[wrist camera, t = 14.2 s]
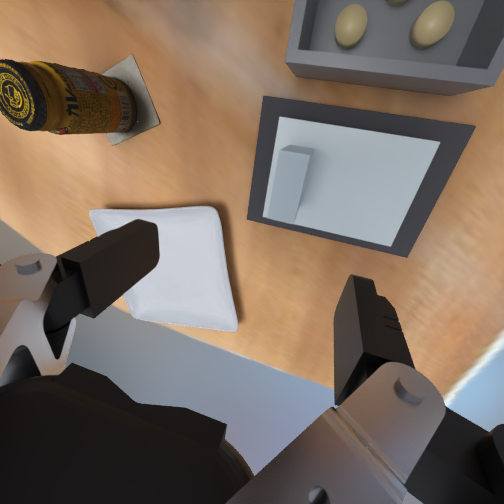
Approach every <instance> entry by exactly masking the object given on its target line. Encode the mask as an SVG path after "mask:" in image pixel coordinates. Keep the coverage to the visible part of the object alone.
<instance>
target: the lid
mask: <svg viewBox="0 0 504 504" xmlns="http://www.w3.org/2000/svg"><path fill="white" fill-rule="evenodd" d="M439 144H440V142H437V141H431V140H425V139H418V138H412V137H406V136H399V135H393V134H387V133H381V132H374V131H368V130H362V129H355V128H349V127H343V126H336V125H330V124H324V123H317V122H311V121H305V120H298V119H292V118H286V117H279V123H278V129H277V135H276V140H275V146H274V152H273V158H272V164H271V170H270V176H269V182H268V188H267V194H266V200H265V206H264V212H263V217H266V218H268V219H272V220H277V221H281V222H285V223H289V224H296V225H300V226H305V227H309V228H313V229H317V230H322V231H326V232H330V233H334V234H339V235H343V236H347V237H351V238H356V239H360V240H364V241H368V242H373V243H377V244H381V245H386V246H390V247H391V245H392V243H393V241H394V239H395V237H396V235H397V233H398V231H399V228H400V226H401V224H402V222H403V220H404V218H405V216H406V214H407V212H408V210H409V207H410V205H411V203H412V201H413V199H414V197H415V195H416V193H417V191H418V189H419V186H420V184H421V182H422V180H423V178H424V176H425V174H426V172H427V170H428V168H429V165H430V163H431V161H432V159H433V157H434V155H435V153H436V151H437V149H438V147H439Z"/></svg>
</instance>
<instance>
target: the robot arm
mask: <svg viewBox="0 0 504 504" xmlns="http://www.w3.org/2000/svg"><path fill="white" fill-rule="evenodd" d="M159 258H160V250H159V234H158V227H157V225H156V224H155V223H153V222H149V221H145V220H141V219H135V220H133V221H131V222H129V223H127V224H125V225H123V226H121V227H119V228H117V229H113V230H110V231H108V232H105V233H103V234H101V235H99V237H95V238H93V239H91V240H90V241H87V242H85V243H83V244H81V245H79V246H77V247H75V248H73V249H71V250H69V251H67V252H65V253H63V254H61V255H58V256H56V257H54V256H53V255H50V254H43V253H37V254H28V255H24V256H19V257H16V258H13V259H11V260H9V261H7V262H5V263H3V264H2V265H1V264H0V504H401V503H402V501H403V499H404V497H405V495H406V492H407V491H408V492H409V493H410V494H412V495H413V496H414V497H416V498H417V499H418V500H420V501H421V502H422V503H423V504H504V424H501V425H498V426H496V427H495V428H494V429H492V430H491V431H490V432H488V431H486V430H484V429H483V428H481V427H479V426H478V425H476V424H474V423H472V422H471V421H469V420H467V419H466V418H464V417H462V416H460V415H459V414H457V413H455V412H454V411H452V410H450V409H449V408H447V407H446V406H445V403H444V400H443V398H442V396H441V394H440V393H439V391H438V390H437V388H436V387H435V386H434V385H433V383H432V382H431V381H430V380H429V379H428V378H426V377H425V376H424V375H423V374H421V373H420V372H418V371H417V370H416V369H415V366H414V364H413V361H412V358H411V355H410V352H409V349H408V346H407V343H406V340H405V337H404V334H403V332H402V328H401V325H400V322H398V320H399V319H398V317H397V314H396V311H395V308H394V307H393V306H392V305H391V303H390V302H389V301H388V300H387V299H386V298H385V297H383V296H379V295H377V292H376V289H375V285H374V281H373V280H372V279H368V278H364V277H360V276H356V275H353V274H351V275H350V276H349V278H348V280H347V282H346V285H345V287H344V290H343V292H342V295H341V297H340V300H339V302H338V304H337V307H336V311H335V315H334V393H335V394H334V395H335V396H334V397H335V405H337V406H339V407H337V408H336V409H335V408H334V407H331V408H329V409H327V410H326V411H325V412H324V413H323V414H322V415H320V416H319V417H318V418H317V419H316V420H315V421H314V422H313V423H312V424H311V425H310V426H309V427H307V428H306V430H304V431H303V432H302V433H301V434H300V435H299V436H298V437H297V438H296V439H294V440H293V441H292V442H291V443H290V444H289V445H288V446H287V447H286V448H285V449H284V450H283V451H281V452H280V453H279V454H278V455H277V456H276V457H275V458H274V459H273V460H272V461H271V462H270V463H268V465H266V466H265V467H264V468H263V469H262V470H261V471H260V472H259V473H258V474H257V475H255V476H254V475H253V473H252V471H251V469H250V467H249V466H248V464H247V463H246V461H245V460H244V459H243V457H242V456H241V455H240V454H239V452H238V451H237V450H236V449H235V448H234V447H233V446H232V445H231V444H230V443H228V442H227V441H226V440H225V434H226V427H227V424H225V423H222V422H220V421H217V420H215V419H212V418H210V417H207V416H205V415H202V414H200V413H197V412H194V411H192V410H190V409H187V408H183V407H172V406H161V405H150V404H140V403H137V402H135V401H134V400H132V399H131V398H130V397H129V396H128V395H127V394H126V393H124V392H123V391H122V390H121V389H120V388H119V387H118V386H117V385H116V384H114V383H113V382H112V381H111V380H110V379H109V378H108V377H107V376H104V375H102V374H99V373H97V372H94V371H91V370H89V369H86V368H84V367H81V366H79V365H77V364H74V363H71V364H70V365H69V366H68V367H67V368H66V369H65V370H64V368H65V364H66V360H67V357H68V353H69V349H70V346H71V342H72V338H73V335H74V331H75V327H76V319H75V317H76V316H77V315H78V314H83V315H86V316H89V317H92V318H95V317H96V316H97V315H99V314H100V313H101V312H102V311H104V310H105V309H106V308H107V307H108V306H110V305H111V304H112V303H113V302H115V301H116V300H117V299H118V298H119V297H121V296H122V295H123V294H124V293H125V292H127V291H128V290H129V289H130V288H131V287H133V286H134V285H135V284H136V283H138V282H139V281H140V280H141V279H142V278H144V277H145V276H146V275H147V274H148V273H150V272H151V271H152V270H153V269H154V268H155V267H156V266H157V264H158V262H159Z"/></svg>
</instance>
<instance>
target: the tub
mask: <svg viewBox="0 0 504 504" xmlns="http://www.w3.org/2000/svg"><path fill="white" fill-rule="evenodd" d="M285 62H286V64H287V65H288V66H289V68H290V69H291V70H292V72H293V73H294V74H295V76H296V77H303V78H311V79H318V80H326V81H334V82H342V83H350V84H358V85H366V86H374V87H382V88H390V89H398V90H406V91H414V92H422V93H430V94H438V95H446V96H452V95H456V94H461V93H465V92H469V91H474V90H478V89H482V88H487V87H491V86H494V84H495V82H496V80H497V79H498V77H499V75H500V73H501V71H502V69H503V67H504V0H295V3H294V9H293V15H292V22H291V28H290V34H289V40H288V47H287V53H286V59H285Z"/></svg>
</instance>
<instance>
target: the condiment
mask: <svg viewBox="0 0 504 504" xmlns="http://www.w3.org/2000/svg"><path fill="white" fill-rule="evenodd" d="M125 81H126V82H128V83H131V85H129V84H126V82H125ZM0 111H1V112H2V114H3V115H4V116H5V117H6V118H7V119H8V120H9V121H10V122H11V123H13V124H14V125H15V126H17V127H19V128H20V129H24V130H27V131H48V132H51V133H54V134H59V135H63V134H93V133H106V134H107V136H108V138H109V140H110V142H111V144H112V146H113V145H115V144H117V143H119V142H122V141H124V140H126V139H128V138H130V137H133V136H134V135H137V134H138V133H140V132H143V131H145V130H148V129H150V128H151V127H153V126H156V125H158V124H160V123H159V120H158V118H157V114H156V112H155V109H154V106H153V104H152V101H151V98H150V96H149V93H148V91H147V89H146V86H145V83H144V81H143V79H142V77H141V74H140V71H139V69H138V67H137V65H136V62H135V60H134V57H133V55H131V56H129V57H127V58H126V59H124V60H123V61H121V62H119V63H118V64H117V65H115V66H113V67H112V68H110V69H109V70H107V71H106V72H105V73H103V74H98V73H95V72H89V71H86V70H84V69H76V68H71V67H67V66H62V65H59V64H56V63H53V64H52V63H47V62H42V61H33V62H29V63H26V62H15V61H13V60H7V59H5V60H3V59H2V60H0ZM137 121H139V122H137Z"/></svg>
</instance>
